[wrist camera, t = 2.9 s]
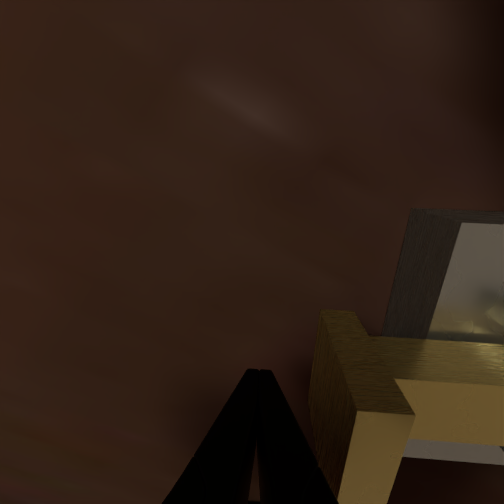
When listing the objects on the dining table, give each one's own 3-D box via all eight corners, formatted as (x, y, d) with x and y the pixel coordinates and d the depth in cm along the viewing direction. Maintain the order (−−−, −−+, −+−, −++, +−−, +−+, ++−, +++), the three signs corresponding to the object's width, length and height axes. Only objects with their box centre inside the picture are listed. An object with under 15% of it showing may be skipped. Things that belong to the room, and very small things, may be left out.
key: (504, 415, 10) (645, 563, 6) (307, 400, 11) (330, 532, 7) (549, 322, 9) (766, 442, 5) (320, 309, 9) (357, 410, 5)
